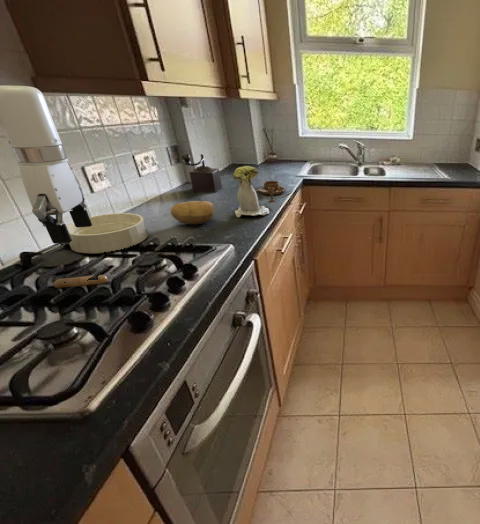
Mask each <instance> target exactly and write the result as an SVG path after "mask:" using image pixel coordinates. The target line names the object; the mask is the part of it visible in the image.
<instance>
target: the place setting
mask: <svg viewBox="0 0 480 524" xmlns="http://www.w3.org/2000/svg"><path fill="white" fill-rule="evenodd" d="M255 191H256V192H259V193H260V194H262V195H264V196H270V199H268V202H270V203H275V202H276V201H277V200H276V199H274V196H278V195H281V194H284V193H285V191H286V188H285V187H284V186H281V185H280V182H279V181H277V180H266V181H264V182H263V186H262V187H260V188H258V189H255ZM291 193H293V192H292V191H290V192H288V193H286V194H284V195H283V197H287V195H289V194H291Z"/></svg>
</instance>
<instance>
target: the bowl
mask: <svg viewBox="0 0 480 524" xmlns="http://www.w3.org/2000/svg"><path fill="white" fill-rule="evenodd" d="M89 217H90V220H91V223H92V226H90V227H75V224H74V222H73V221H72V222H71V223H69V224H67V225H66V227H67V229H68V232H69V234H70V236H71V239H72V241H71V242H70V243H68V245H69V247H70V249H71V251H74V252H76V253H81V254H105V253H104V252H106V253H111V251H113V252H117V251H116V250H118V251H122V250H125V249H128V248H131V247H134V246H136V245H138V244H140V243H142V242H143V241H145V240H146V239H147V238H148V236H149V235H148V233H149V232H148V229H147V226H146V223H145V218H144V216H142V215H140V214H137V213H130V212H115V213H105V214H97V215H93V216H89ZM133 245H134V246H133ZM130 246H131V247H130ZM124 248H125V249H124ZM121 249H122V250H121Z"/></svg>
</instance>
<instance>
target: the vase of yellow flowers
mask: <svg viewBox="0 0 480 524" xmlns="http://www.w3.org/2000/svg"><path fill="white" fill-rule="evenodd" d="M258 175H259V170H258V169H257V167H254V166H250V165H244V166H240V167H237V168H236V169H235V170H234V172H233V175H232V178H233V179H234V180H235V181H237V182H239V186H238V190H237V202H238V203H239V207H238V209H237V210H234V215H235V216H236V218H240V217H242V216H253V217H257V216H260V215H261V216H265V215H267V214H270V209H269V208H267V207H265V205H260V201H259V198H258V193H257V191H255V190H256V189H255V188H254V186H253V184H252V181H253V180H254V179H256V177H257V176H258Z"/></svg>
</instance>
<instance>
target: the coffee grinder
mask: <svg viewBox="0 0 480 524" xmlns="http://www.w3.org/2000/svg"><path fill="white" fill-rule="evenodd" d="M180 160H181V161H182V162H183V164H184V166H187V167H188V166H192V167H195V168H193V169H192V170H191V171H189V177H190V182H191V187H192V192H193V193H203V194H205V193H206V194H207V193H208V194H209V193H212V194H215V193H217V192H218V191H220V190H221V189H222V188H223V186H222V180H221V175H220V174H221V173H220V168H218V167H217V168H214V167H210V166H208V165H206V164H205V156H204V154H200V160H199V161H198V162H195V163H192V162H191V161H190V160H191V155H190V154H188V153H182V154H181V155H180ZM198 165H199V166H198Z"/></svg>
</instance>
